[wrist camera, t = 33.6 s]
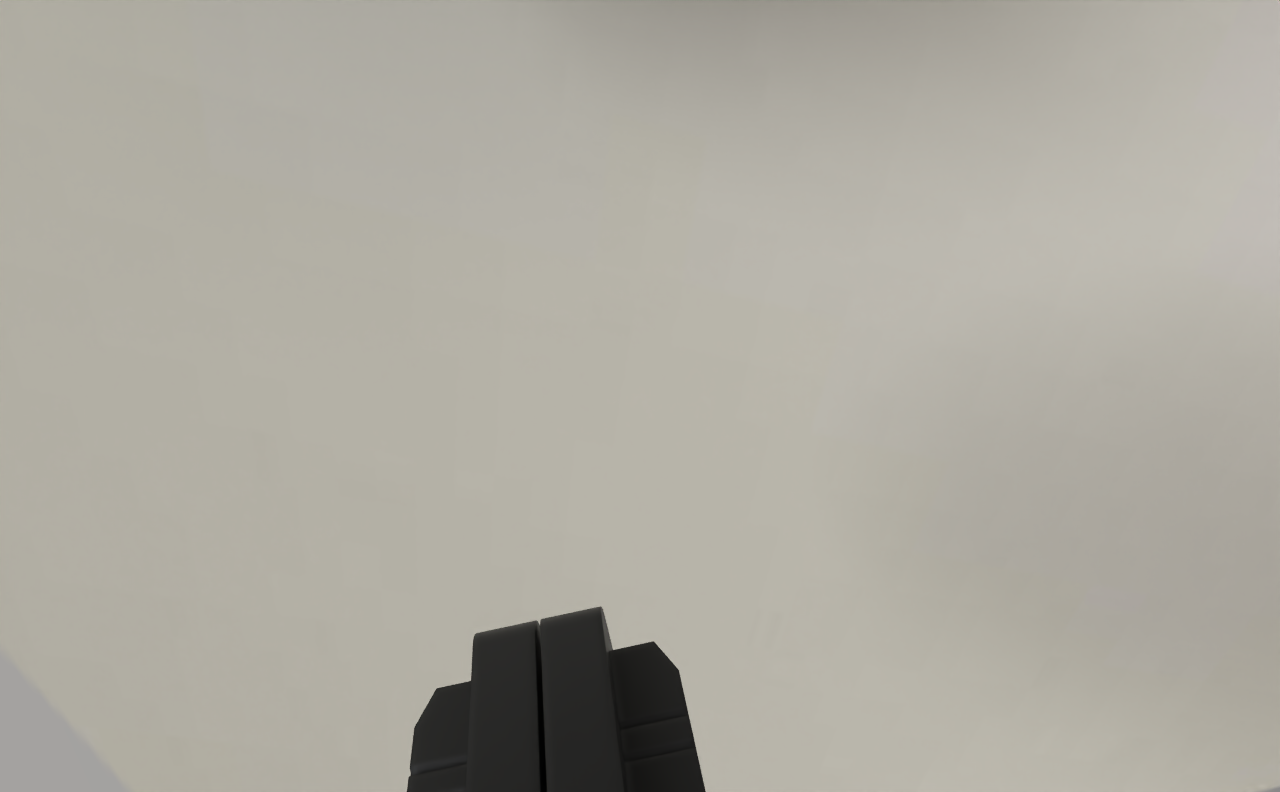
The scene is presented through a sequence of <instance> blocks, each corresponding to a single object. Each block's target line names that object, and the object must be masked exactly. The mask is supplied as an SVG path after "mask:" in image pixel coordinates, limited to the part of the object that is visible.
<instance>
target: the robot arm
mask: <svg viewBox="0 0 1280 792" xmlns="http://www.w3.org/2000/svg"><path fill="white" fill-rule="evenodd" d="M410 771H411V776H409V779H408V788H407V792H705V787H704V783H703V778H702V774H701V769H700V765H699V760H698V756H697V751H696V747H695V742H694V737H693V733H692V728H691V724H690V719H689V715H688V710H687V706H686V701H685V697H684V692H683V687H682V683H681V678H680V674H679V670H678V669H677V668H676V666H675V665H674V664H673V663H672V662H671V661H670V660H669V658H668V657H667V656H666V655H665V654H664V653H663V652H662V650H661V649H660V648H659V647H658V646H657V645H656V643H655V642H649V643H644V644H640V645H635V646H630V647H626V648H621V649H616V650H613V648H612V644H611V640H610V636H609V632H608V628H607V624H606V620H605V616H604V612H603V609H602V607H596V608H591V609H587V610H582V611H577V612H573V613H568V614H563V615H559V616H554V617H549V618H545V619H541V622H540V625H539V623H538V621H532V622H527V623H522V624H518V625H513V626H508V627H504V628H499V629H494V630H490V631H485V632H480V633H476V634H475V636H474V640H473V654H472V674H471V681H469V682H465V683H460V684H455V685H451V686H446V687H441V688H437V689H436V691H435V692H434V694H433V696H432V698H431V699H430V701H429V703H428V705H427V706H426V708H425V710H424V712H423V713H422V715H421V717H420V719H419V721H418V722H417V724H416V726H415V728H414V736H413V745H412V754H411V762H410Z"/></svg>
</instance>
